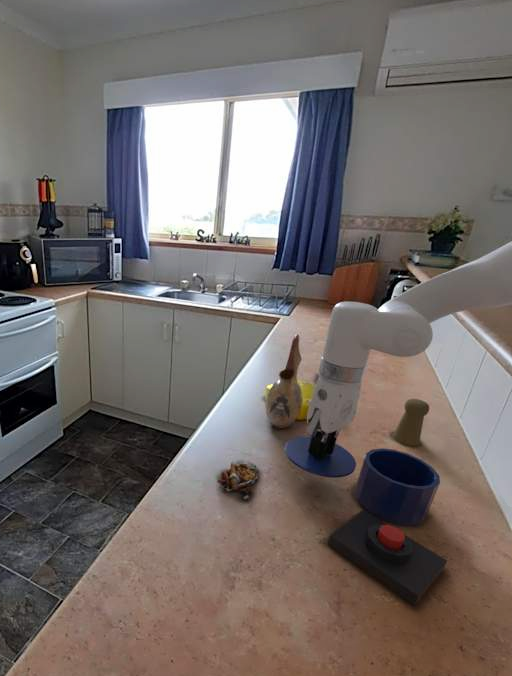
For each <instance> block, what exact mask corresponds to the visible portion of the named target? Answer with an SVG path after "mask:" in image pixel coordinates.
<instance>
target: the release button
mask: <svg viewBox="0 0 512 676" xmlns="http://www.w3.org/2000/svg"><path fill="white" fill-rule="evenodd" d="M404 534H405V533H403V531H402V530H401V529H399V528H397V527H396V526H393V525H389V524H387V525H383V526H381V527H380V530H379V533H378V536H377V537H378V540H379V541H380V543H382V544H383V545H385V546H387V547H389V548H392V549H395V550H397V549H400V548H401V547H402V545H403V542H404V540H405V536H404Z"/></svg>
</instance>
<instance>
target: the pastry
mask: <svg viewBox="0 0 512 676" xmlns="http://www.w3.org/2000/svg"><path fill="white" fill-rule="evenodd" d="M259 470H260V469H259V467H258V466H257V465H255V464H254V463H252V462H250V461H243V462H240V463H234V461H233V460H231V463H230V468H229V469H225V470H224V471H222V472H221V474H220V477H219V478H218V479H217V481H216V483H217V484H218V485H219V487H220V488H221V489H225V490H226V491H227V492H231V491H236V490H237V491H240V492H244V494H242V496H241V499H242V500H248V499H249V497H250V496H252V492H251V490H250V487H251V486H252V485H253V484H255V483H256V480H258V474H259Z"/></svg>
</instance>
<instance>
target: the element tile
mask: <svg viewBox="0 0 512 676" xmlns="http://www.w3.org/2000/svg"><path fill="white" fill-rule="evenodd" d="M297 382H298V384H299V386H300V388H301V391H302V407H301V411H300V413H299V415H298V417H297V418H296V420H298V421H299V420H300V421H301V420H307V415H308V410H309V406H310V402H311V399H312V395H313V392H314V389H315V386H316V385H313V384H312V383H309V382H308V381H305V380H304V379H297ZM273 384H274V383H272V384H268V385H267V386H266V390H265V395H264V399H265V400H266V398H267V394H268V392H269V390H270V388H271V387H272V385H273Z"/></svg>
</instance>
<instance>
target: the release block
mask: <svg viewBox="0 0 512 676" xmlns="http://www.w3.org/2000/svg"><path fill="white" fill-rule="evenodd" d="M383 525H388V524H387V523H386V522H384V521H382V519H380V518H378V517H377V516H375V515H373V514H372V513H370V512H369V511H367V510H364V509H362V510H360V511H359V512H358V513H357V514H355V515H354V516H352V518H350V519H349V520H348V521H346V522H345V523H344V524H342V525H341V526H340V527H339V528H337V529H336V530H335V531H333V532H332V533H331V534H330V535H329V538H328V542H327V545H328V546H329V547H330V548H332V549H333V550H334V551H336V552H337V553H339V554H340V555H342V557H344V558H346V559H347V560H348V561H350V562H351V563H352V564H354V565H355V566H357V567H358V568H359V569H361V570H362V571H364V572H365V573H367V574H368V576H370V577H372V578H373V579H375V580H377V581H378V582H379V583H381V584H382V585H383V586H385V587H386V588H387V589H388V590H390V591H392V592H393V593H394V594H396V595H397V596H398V597H400V598H401V599H403V600H404V601H406V602H407V603H408V604H410V605H411V606H412V607H415V606H416V605H417V604H418V603H419V601H420V600H421V599H422V597H423V596H424V595H425V593H426V592H427V591H428V590H429V589H430V587H431V586H432V585H433V583H434V582H435V581H436V580H437V579H438V577H439V576H440V575H441V573H442V572H443V571H444V570H445V567H446V566H447V562H448V560H447V559H446V558H443V557H442V556H441V555H438V554H437V553H435V552H434V551H432V550H430V549H429V548H427V547H425V546H424V545H423V544H421V543H420V542H417V541H415V540H414V539H413V538H411V537H409V536H408V535H406V534H405V533H403V534H404V536H405V540H404V542H403V545H402V547H401V548H400V549H397V550H395V549H392V548H389V547H387V546H385V545H383V544H382V543H380V541H379V540H378V537H377V536H378V533H379V530H380V527H381V526H383Z"/></svg>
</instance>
